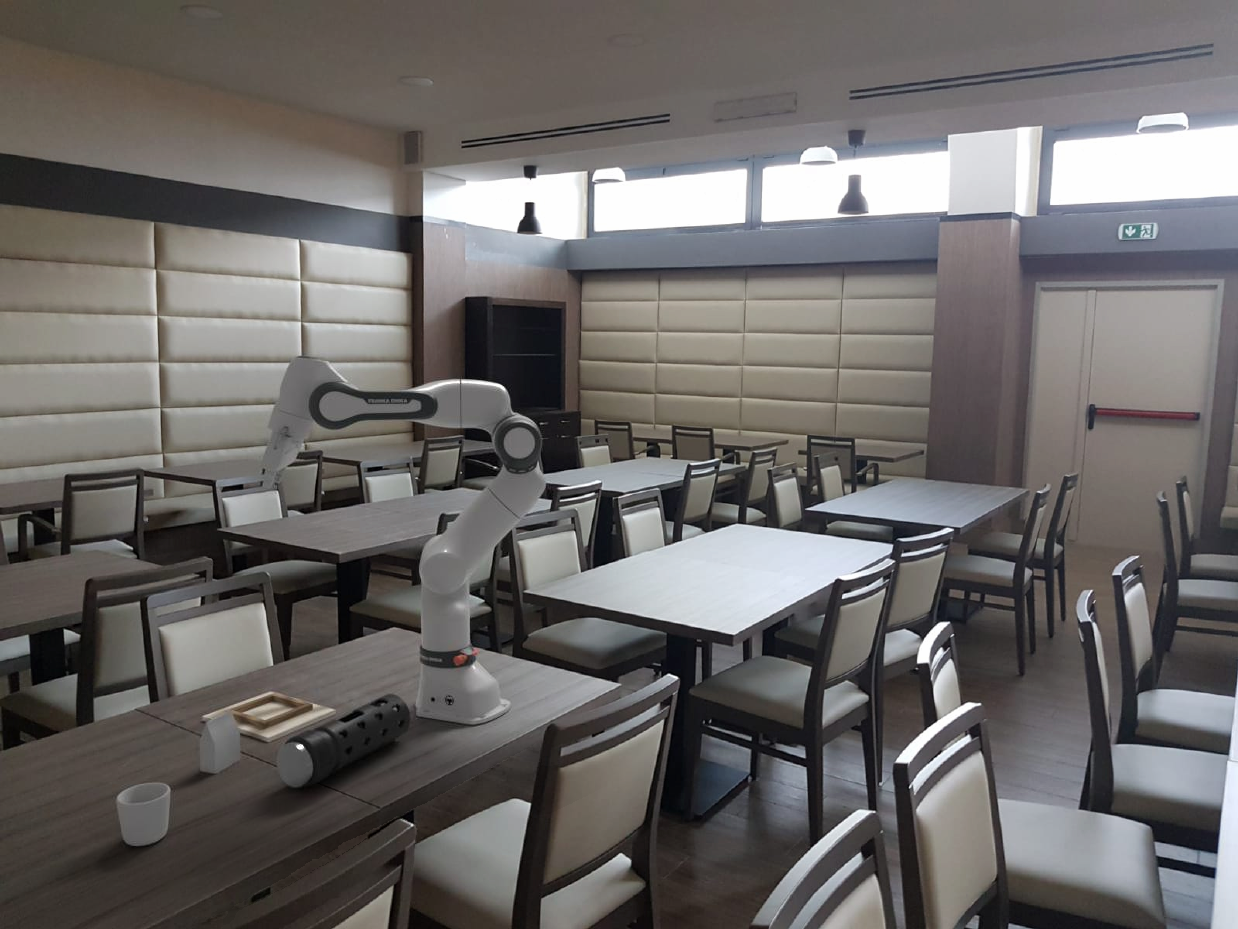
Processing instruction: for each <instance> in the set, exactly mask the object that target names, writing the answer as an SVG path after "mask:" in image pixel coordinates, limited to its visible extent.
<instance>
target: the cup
mask: <svg viewBox="0 0 1238 929" xmlns="http://www.w3.org/2000/svg"><path fill="white" fill-rule="evenodd" d="M115 800H116V808H117V814H118V819H119V825H120V829H121V830H120V831H121V835H122V836H121V837H122V839H123V841H124V842H125V844H127V845H129V846H132V847H143V846H148V845H149V846H150V845H152V844H155V843H157V842H158V841H160V840H161V839H163V838H164V837H165V836H166V834H167V832H168V829H169V819H170V818H169V817H170V804H171V787H170V786H169V785H168V784H166V783H163V782H145V783H140V784H136V785H134V786H131V787H128V788H126V789H124V790H122V791H121V792H120V793H119V794H118V795H117V797H116V799H115Z"/></svg>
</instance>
